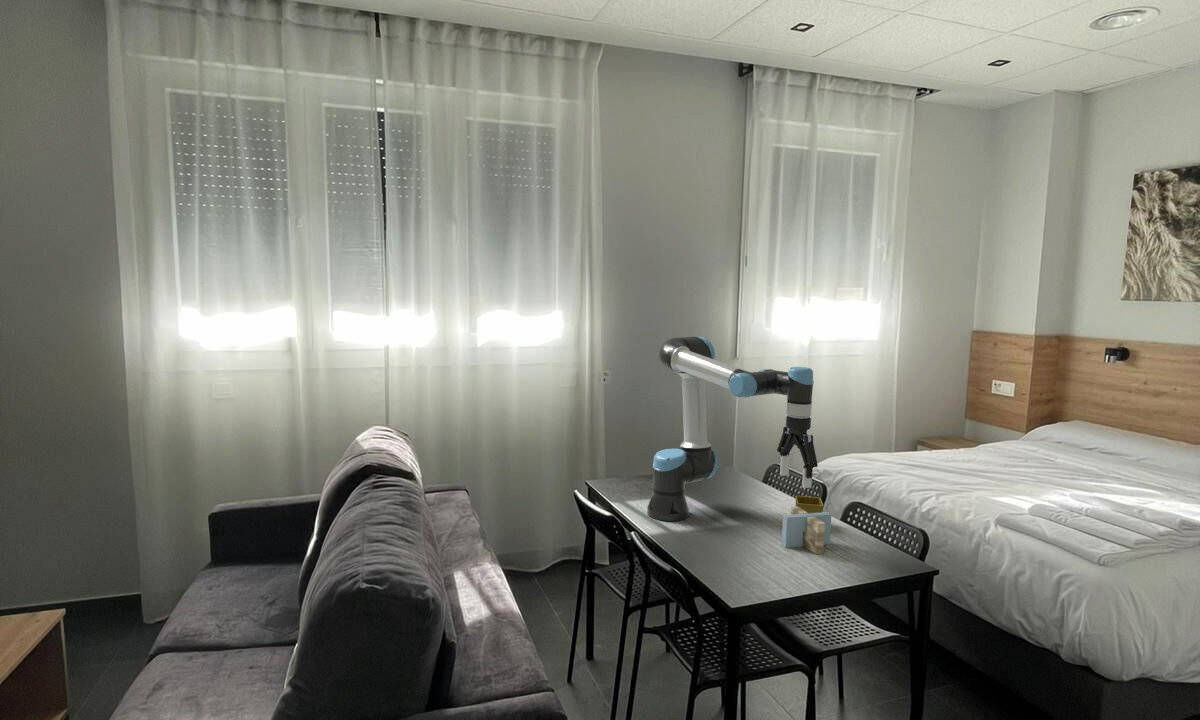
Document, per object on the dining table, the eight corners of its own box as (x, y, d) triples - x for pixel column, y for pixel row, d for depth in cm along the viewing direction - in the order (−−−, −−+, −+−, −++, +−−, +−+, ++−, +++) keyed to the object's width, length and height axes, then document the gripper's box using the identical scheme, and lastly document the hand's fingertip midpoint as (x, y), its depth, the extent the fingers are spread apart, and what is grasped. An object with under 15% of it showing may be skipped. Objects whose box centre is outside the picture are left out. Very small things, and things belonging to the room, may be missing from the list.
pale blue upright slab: (785, 547, 209) (787, 517, 208) (781, 544, 211) (783, 515, 210) (829, 544, 213) (831, 514, 212) (825, 541, 215) (826, 511, 214)
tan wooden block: (823, 554, 205) (825, 523, 204) (816, 554, 204) (817, 523, 203) (796, 535, 220) (797, 506, 219) (789, 535, 219) (791, 507, 218)
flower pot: (822, 530, 225) (823, 505, 224) (796, 528, 227) (797, 503, 226) (819, 521, 234) (820, 497, 233) (793, 519, 235) (795, 495, 235)
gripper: (832, 423, 195) (828, 492, 198) (789, 408, 219) (785, 469, 222) (809, 424, 193) (805, 493, 196) (768, 409, 218) (765, 471, 220)
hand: (795, 481), depth 209 cm, fingers open, 13 cm apart
